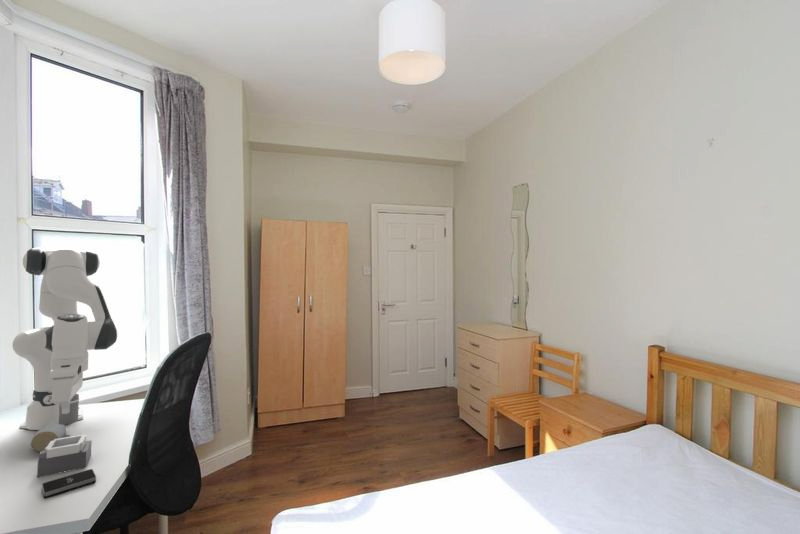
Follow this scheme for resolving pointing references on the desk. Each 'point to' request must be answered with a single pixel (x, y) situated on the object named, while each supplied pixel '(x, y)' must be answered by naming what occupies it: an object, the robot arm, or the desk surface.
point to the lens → (73, 413)
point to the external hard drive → (68, 483)
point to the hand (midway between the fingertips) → (68, 410)
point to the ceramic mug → (47, 435)
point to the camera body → (64, 455)
